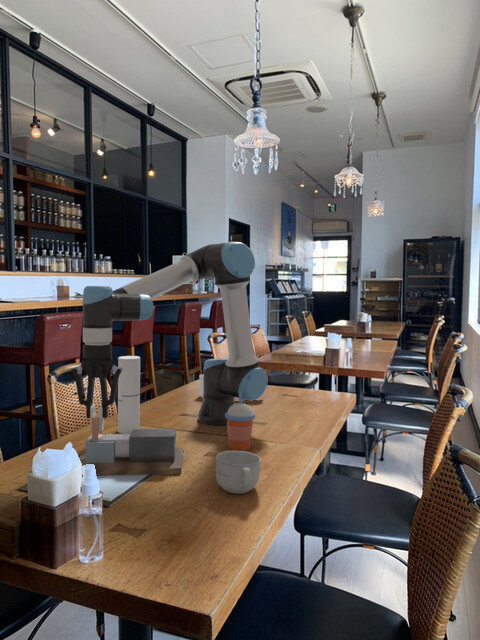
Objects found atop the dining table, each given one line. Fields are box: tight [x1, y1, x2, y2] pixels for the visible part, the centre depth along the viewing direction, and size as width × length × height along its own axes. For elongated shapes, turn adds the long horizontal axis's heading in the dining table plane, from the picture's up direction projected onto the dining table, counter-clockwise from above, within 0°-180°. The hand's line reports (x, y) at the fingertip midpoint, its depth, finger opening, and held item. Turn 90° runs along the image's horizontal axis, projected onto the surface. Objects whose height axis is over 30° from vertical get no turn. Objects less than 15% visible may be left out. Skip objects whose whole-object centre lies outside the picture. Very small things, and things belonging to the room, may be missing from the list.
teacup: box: [215, 450, 262, 495], centre depth 109 cm, size 14×11×8 cm
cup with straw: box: [225, 389, 256, 451], centre depth 140 cm, size 9×9×18 cm
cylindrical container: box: [117, 355, 141, 434], centre depth 155 cm, size 7×7×25 cm
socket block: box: [84, 434, 116, 463], centre depth 125 cm, size 7×7×6 cm
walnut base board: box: [78, 447, 184, 476], centre depth 126 cm, size 28×16×2 cm, turn 95°
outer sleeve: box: [129, 428, 177, 463], centre depth 126 cm, size 12×7×7 cm, turn 95°
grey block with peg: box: [91, 412, 130, 457], centre depth 125 cm, size 13×5×11 cm, turn 95°
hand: (97, 429), depth 125 cm, fingers closed on grey block with peg, 2 cm apart
